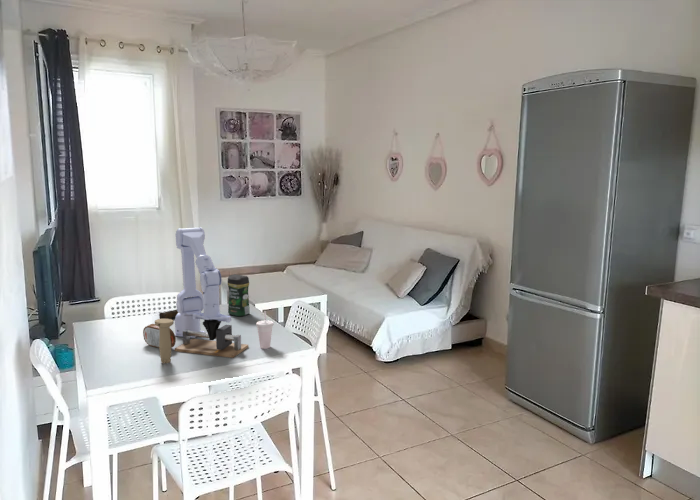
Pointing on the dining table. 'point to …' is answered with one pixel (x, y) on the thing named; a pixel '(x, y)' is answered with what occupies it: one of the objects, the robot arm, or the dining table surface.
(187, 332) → the silver metal rod
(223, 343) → the collar
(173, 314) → the hand tool
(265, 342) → the smoothie
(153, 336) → the tin
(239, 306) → the coffee jar
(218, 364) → the dining table surface
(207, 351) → the base board
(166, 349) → the handle
